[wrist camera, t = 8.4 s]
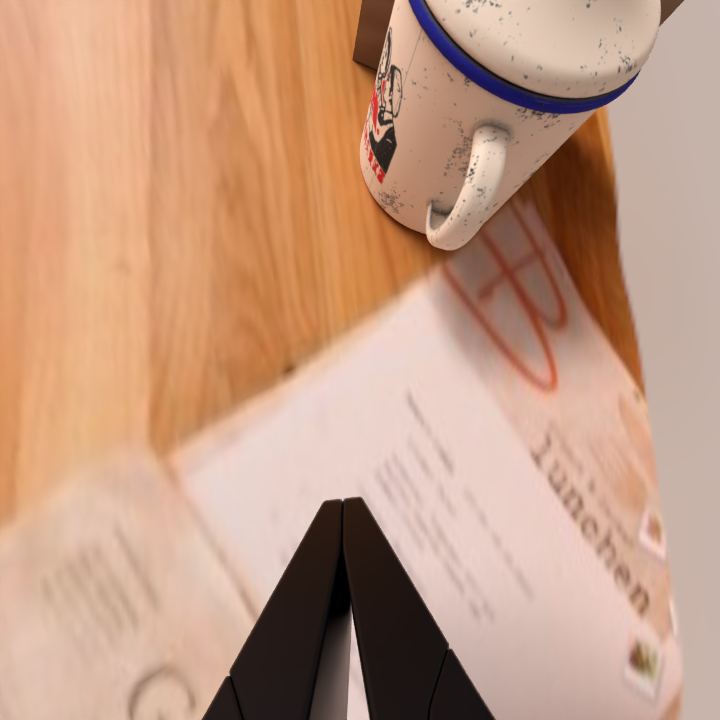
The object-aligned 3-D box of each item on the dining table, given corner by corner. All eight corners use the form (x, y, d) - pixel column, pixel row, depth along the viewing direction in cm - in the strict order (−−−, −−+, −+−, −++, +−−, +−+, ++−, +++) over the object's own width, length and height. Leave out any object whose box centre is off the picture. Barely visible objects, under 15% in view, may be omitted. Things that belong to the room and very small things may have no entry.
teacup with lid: (370, 79, 20) (473, -377, 8) (511, 129, 21) (762, -204, 10) (327, 266, 17) (390, -17, 6) (489, 310, 19) (789, 146, 7)
